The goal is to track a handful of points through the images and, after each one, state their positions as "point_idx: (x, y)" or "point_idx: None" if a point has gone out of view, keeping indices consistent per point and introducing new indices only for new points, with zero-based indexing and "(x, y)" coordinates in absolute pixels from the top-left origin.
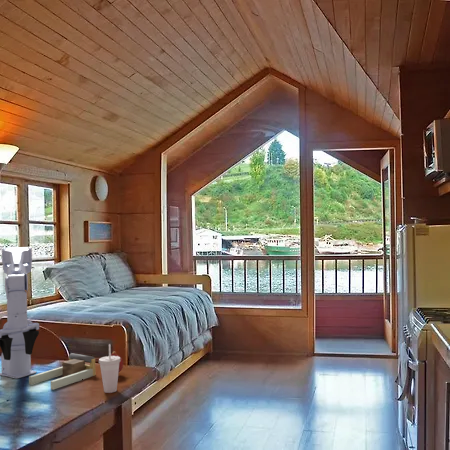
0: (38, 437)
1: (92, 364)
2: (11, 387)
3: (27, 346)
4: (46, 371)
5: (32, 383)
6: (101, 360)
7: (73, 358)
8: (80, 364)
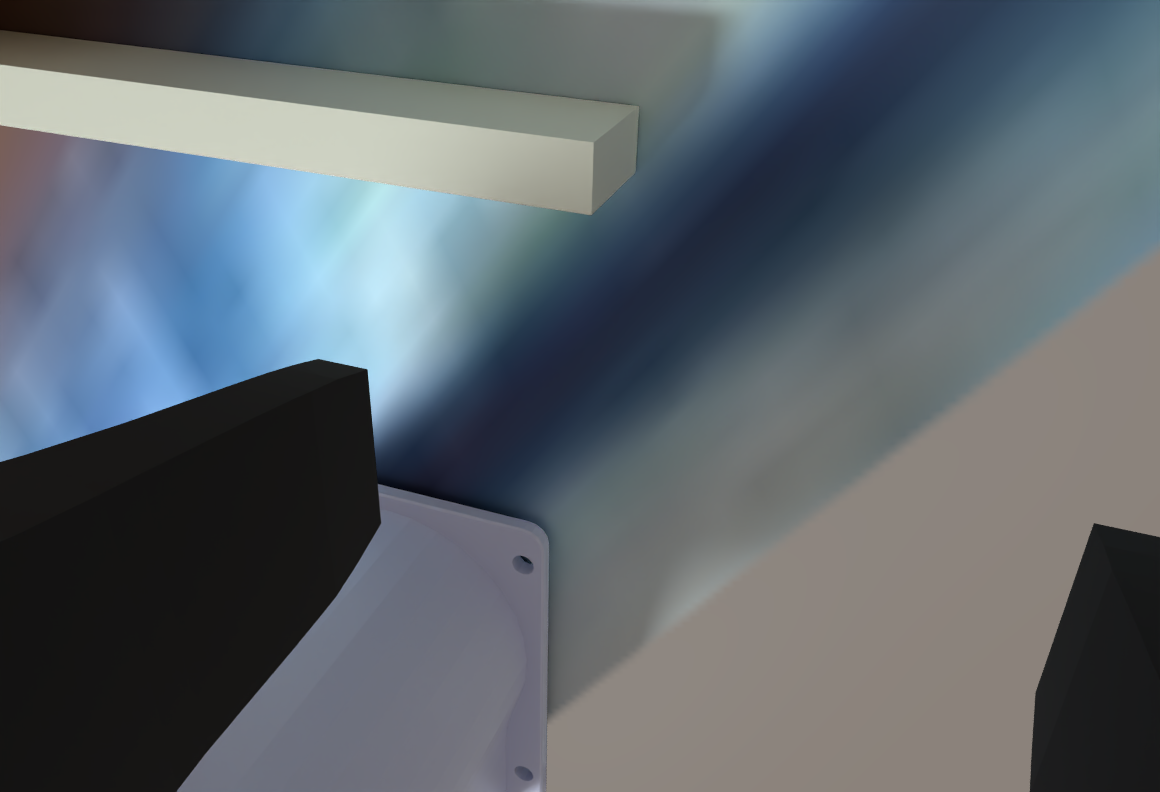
0: None
1: None
2: (880, 328)
3: (233, 605)
4: (247, 155)
5: (616, 107)
6: None
7: None
8: None
